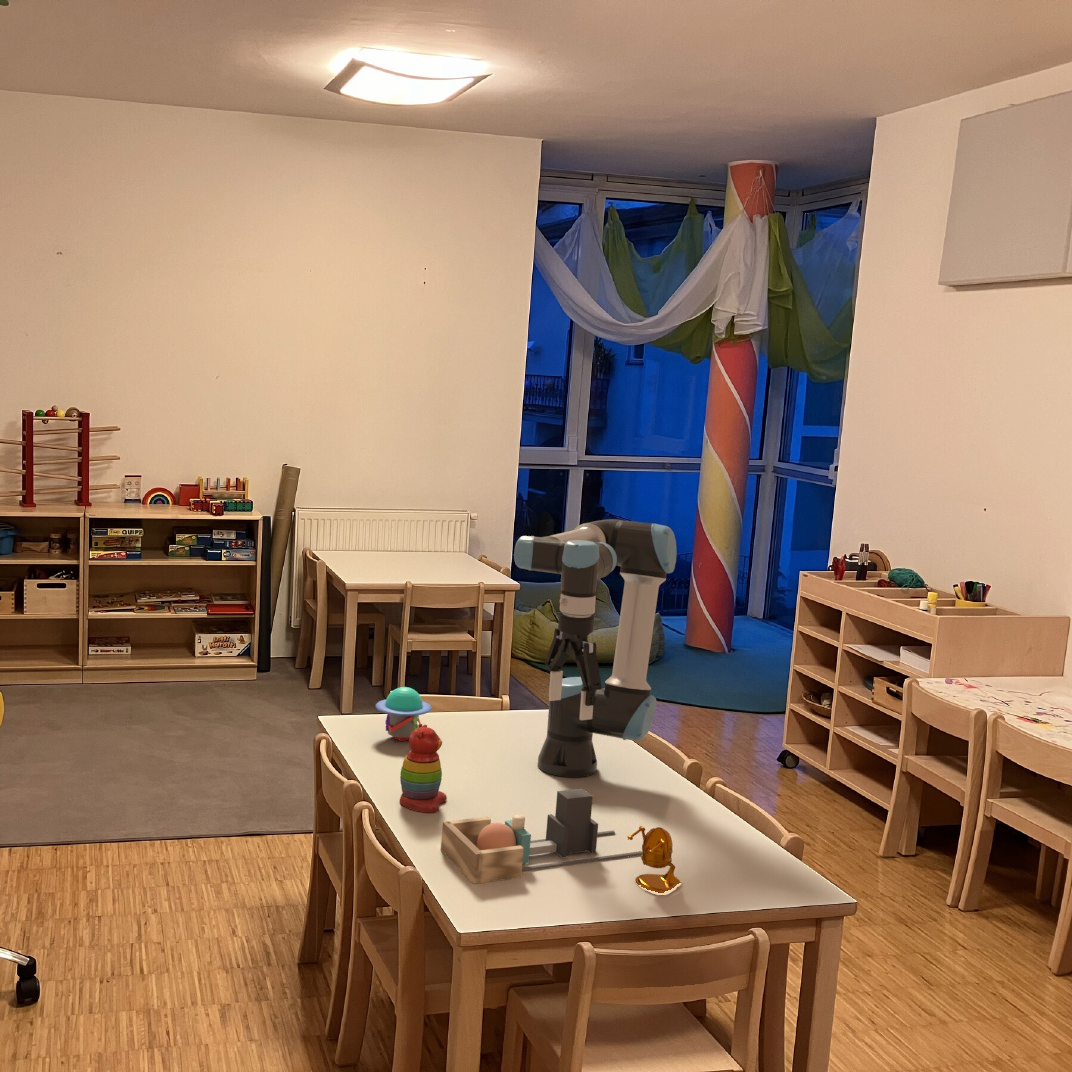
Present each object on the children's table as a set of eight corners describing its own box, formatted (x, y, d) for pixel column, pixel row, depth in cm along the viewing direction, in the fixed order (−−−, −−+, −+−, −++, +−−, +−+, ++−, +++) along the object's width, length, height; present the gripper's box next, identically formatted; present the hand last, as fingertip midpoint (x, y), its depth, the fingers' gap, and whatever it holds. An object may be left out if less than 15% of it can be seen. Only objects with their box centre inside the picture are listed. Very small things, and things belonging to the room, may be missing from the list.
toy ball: (520, 859, 236) (523, 822, 235) (505, 872, 229) (508, 834, 228) (485, 850, 239) (488, 814, 238) (469, 863, 232) (471, 826, 231)
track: (612, 832, 254) (613, 830, 254) (642, 854, 243) (643, 852, 243) (493, 847, 240) (493, 845, 240) (519, 872, 230) (519, 869, 229)
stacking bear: (435, 814, 256) (440, 737, 254) (392, 808, 258) (396, 731, 256) (448, 798, 267) (453, 724, 264) (407, 792, 269) (411, 718, 266)
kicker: (583, 838, 248) (588, 784, 246) (602, 852, 241) (607, 797, 239) (501, 848, 239) (505, 793, 237) (518, 864, 232) (523, 807, 230)
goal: (485, 843, 242) (487, 816, 241) (521, 877, 227) (523, 848, 226) (440, 849, 237) (442, 821, 237) (473, 883, 222) (476, 854, 222)
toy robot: (426, 749, 300) (430, 697, 298) (369, 745, 300) (372, 692, 298) (432, 732, 315) (436, 682, 313) (378, 728, 315) (381, 678, 313)
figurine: (621, 880, 229) (627, 823, 228) (666, 873, 234) (671, 816, 233) (646, 899, 222) (651, 839, 220) (691, 890, 227) (697, 832, 225)
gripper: (533, 601, 254) (527, 693, 257) (591, 628, 232) (584, 729, 236) (563, 599, 257) (557, 691, 261) (622, 626, 236) (615, 725, 239)
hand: (569, 709), depth 248 cm, fingers open, 13 cm apart
